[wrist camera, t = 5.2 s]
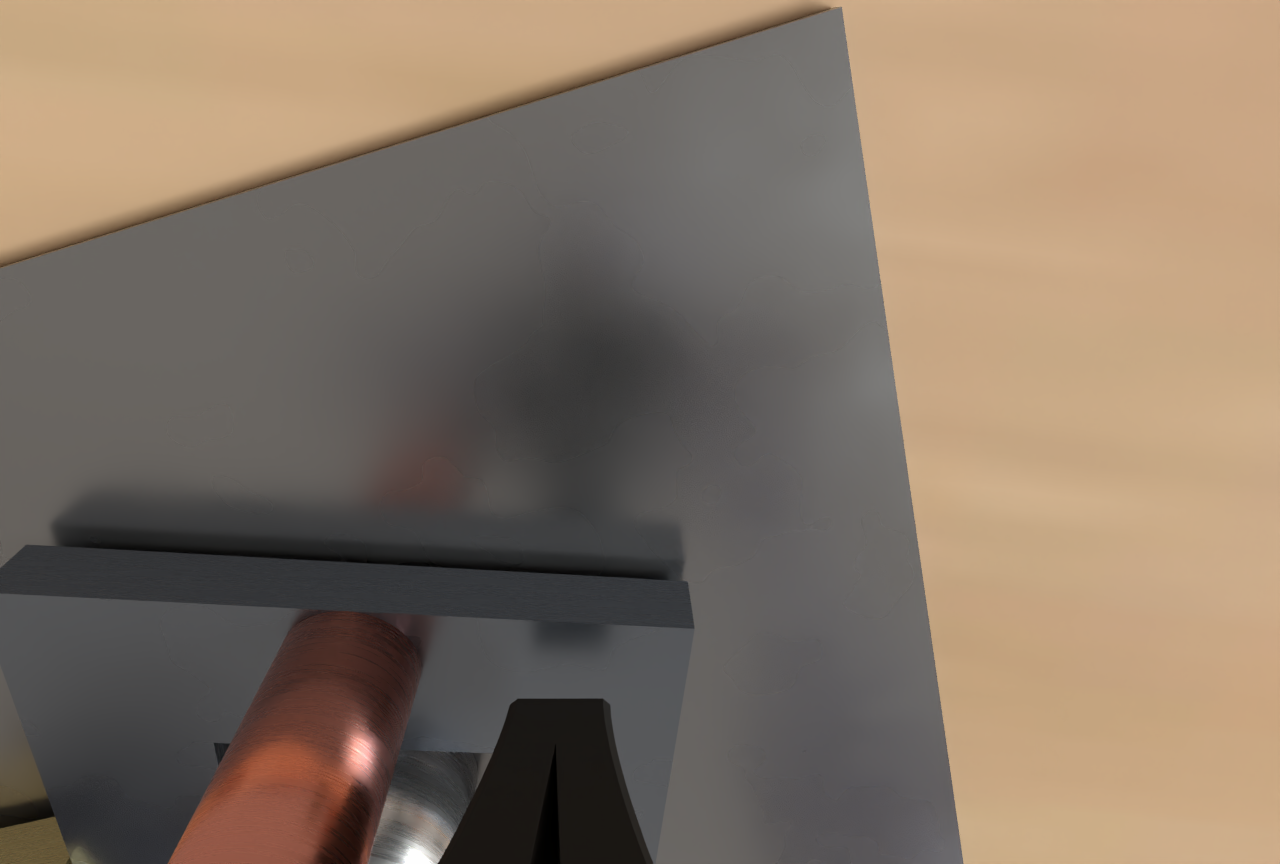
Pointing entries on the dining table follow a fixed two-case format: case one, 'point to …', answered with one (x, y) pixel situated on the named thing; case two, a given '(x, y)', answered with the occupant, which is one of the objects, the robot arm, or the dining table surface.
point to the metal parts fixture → (303, 692)
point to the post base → (538, 421)
